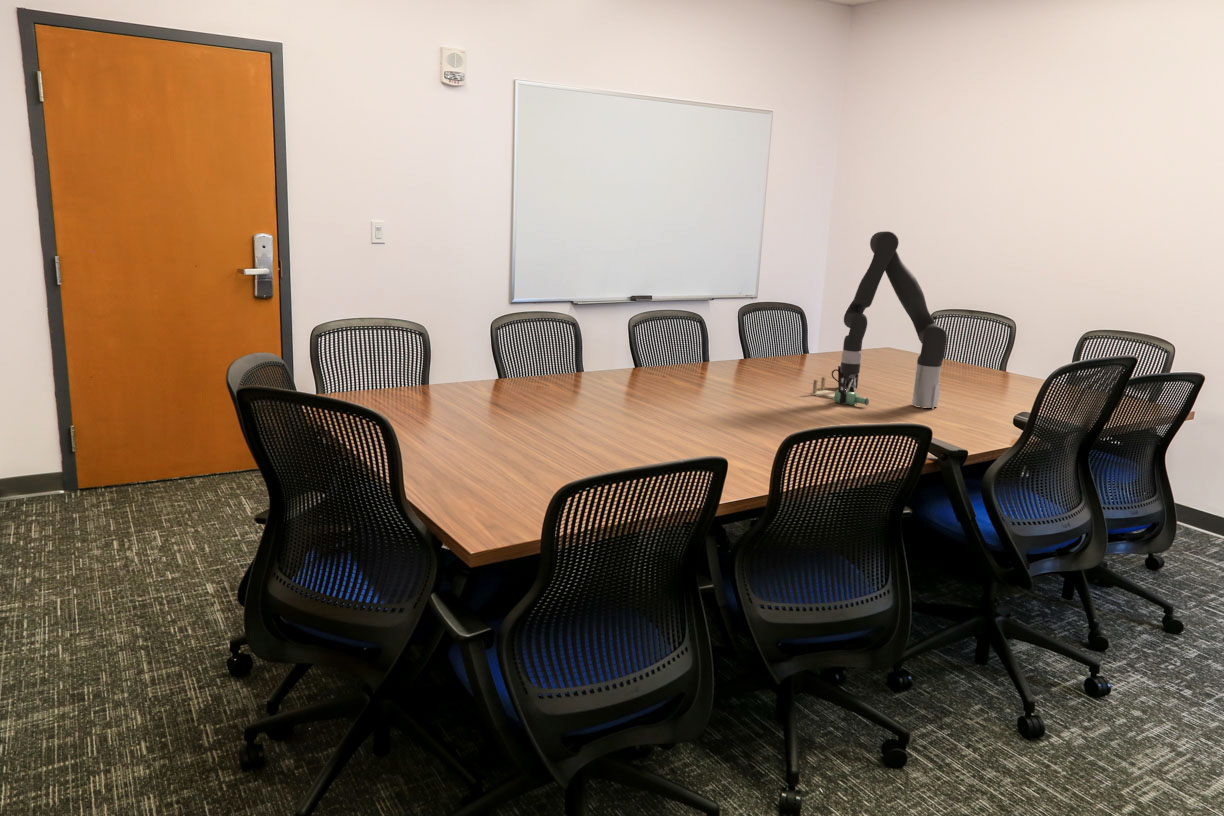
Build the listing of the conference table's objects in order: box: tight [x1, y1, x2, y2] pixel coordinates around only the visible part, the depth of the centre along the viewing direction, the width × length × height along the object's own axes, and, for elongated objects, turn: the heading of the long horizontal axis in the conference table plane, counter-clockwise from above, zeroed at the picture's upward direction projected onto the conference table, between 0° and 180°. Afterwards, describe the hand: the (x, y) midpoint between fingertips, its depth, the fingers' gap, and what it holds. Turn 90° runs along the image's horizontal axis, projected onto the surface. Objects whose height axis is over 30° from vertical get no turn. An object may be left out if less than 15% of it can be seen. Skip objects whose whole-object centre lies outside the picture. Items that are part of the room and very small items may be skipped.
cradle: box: [810, 376, 849, 399], centre depth 364 cm, size 13×10×6 cm
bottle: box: [833, 389, 870, 406], centre depth 349 cm, size 13×5×5 cm, turn 53°
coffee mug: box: [831, 364, 844, 388], centre depth 380 cm, size 12×9×10 cm
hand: (846, 401), depth 352 cm, fingers open, 7 cm apart
